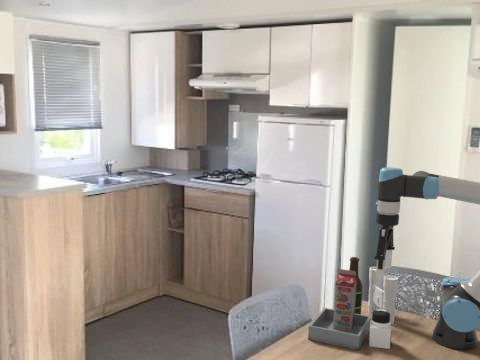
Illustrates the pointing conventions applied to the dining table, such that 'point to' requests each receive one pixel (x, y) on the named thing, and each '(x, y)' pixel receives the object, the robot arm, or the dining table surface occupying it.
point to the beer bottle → (359, 289)
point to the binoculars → (382, 293)
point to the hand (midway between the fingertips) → (383, 272)
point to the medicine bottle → (380, 329)
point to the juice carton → (345, 300)
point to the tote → (325, 333)
